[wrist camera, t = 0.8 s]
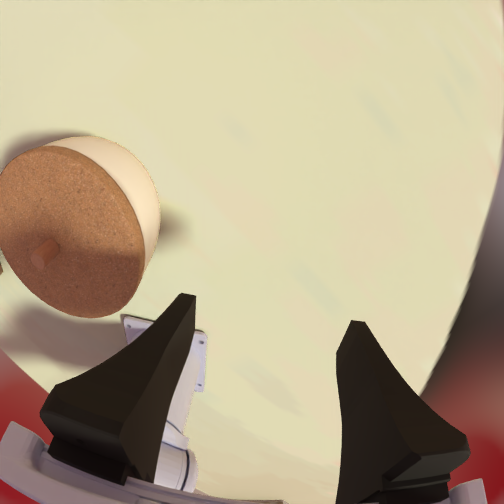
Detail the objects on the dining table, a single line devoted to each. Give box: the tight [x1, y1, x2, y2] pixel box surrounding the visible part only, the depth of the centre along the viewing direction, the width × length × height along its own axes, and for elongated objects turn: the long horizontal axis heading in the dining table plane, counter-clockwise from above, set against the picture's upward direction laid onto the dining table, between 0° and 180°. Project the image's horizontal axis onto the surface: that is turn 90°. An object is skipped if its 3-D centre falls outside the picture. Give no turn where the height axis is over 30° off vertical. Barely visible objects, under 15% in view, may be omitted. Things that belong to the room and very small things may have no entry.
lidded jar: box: [0, 136, 161, 318], centre depth 18 cm, size 11×11×9 cm
